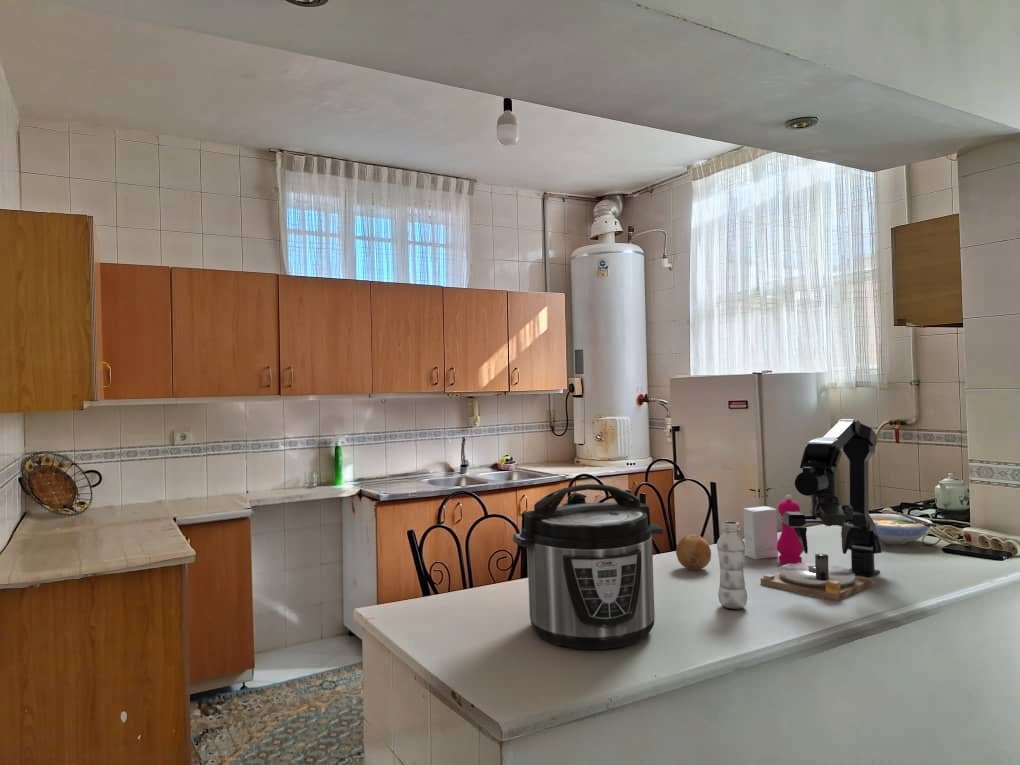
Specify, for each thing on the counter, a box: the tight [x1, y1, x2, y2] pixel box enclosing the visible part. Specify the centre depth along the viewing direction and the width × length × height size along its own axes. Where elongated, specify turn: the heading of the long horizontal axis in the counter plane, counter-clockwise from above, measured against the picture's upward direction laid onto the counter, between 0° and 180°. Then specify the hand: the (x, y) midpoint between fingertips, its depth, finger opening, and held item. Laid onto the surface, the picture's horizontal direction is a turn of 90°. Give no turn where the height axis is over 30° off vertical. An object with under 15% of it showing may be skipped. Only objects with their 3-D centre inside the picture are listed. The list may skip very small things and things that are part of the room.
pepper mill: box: [777, 494, 804, 565], centre depth 202 cm, size 7×7×20 cm
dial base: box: [760, 571, 874, 602], centre depth 179 cm, size 20×20×4 cm
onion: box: [675, 533, 712, 571], centre depth 197 cm, size 10×10×10 cm
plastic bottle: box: [716, 520, 748, 610], centre depth 162 cm, size 6×7×20 cm
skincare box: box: [742, 505, 779, 560], centre depth 210 cm, size 8×6×15 cm
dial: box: [778, 553, 856, 588], centre depth 179 cm, size 18×18×8 cm
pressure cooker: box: [512, 483, 664, 650], centre depth 149 cm, size 30×28×32 cm
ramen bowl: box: [869, 511, 937, 546], centre depth 225 cm, size 25×23×8 cm
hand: (825, 553), depth 172 cm, fingers open, 9 cm apart
